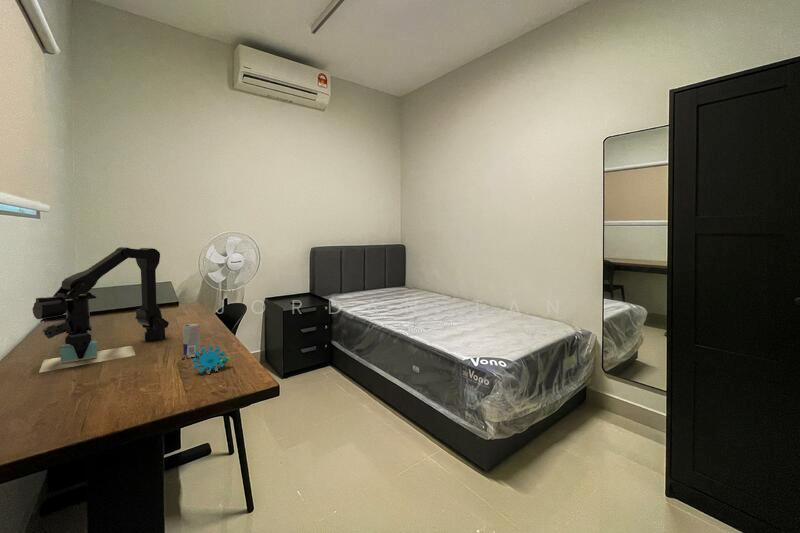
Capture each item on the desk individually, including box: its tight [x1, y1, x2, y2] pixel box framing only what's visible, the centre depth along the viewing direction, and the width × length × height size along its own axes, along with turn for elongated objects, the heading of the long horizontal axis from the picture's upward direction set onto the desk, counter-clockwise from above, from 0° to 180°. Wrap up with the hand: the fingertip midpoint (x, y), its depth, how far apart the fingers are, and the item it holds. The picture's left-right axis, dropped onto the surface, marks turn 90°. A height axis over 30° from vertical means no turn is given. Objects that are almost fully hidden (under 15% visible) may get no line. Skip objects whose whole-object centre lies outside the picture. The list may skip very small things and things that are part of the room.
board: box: [38, 345, 136, 373], centre depth 118 cm, size 24×14×1 cm, turn 133°
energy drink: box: [182, 322, 201, 359], centre depth 124 cm, size 5×5×12 cm
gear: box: [191, 345, 231, 374], centre depth 113 cm, size 11×6×10 cm
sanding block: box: [59, 340, 98, 363], centre depth 116 cm, size 9×5×5 cm, turn 132°
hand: (80, 356), depth 116 cm, fingers closed on sanding block, 5 cm apart
